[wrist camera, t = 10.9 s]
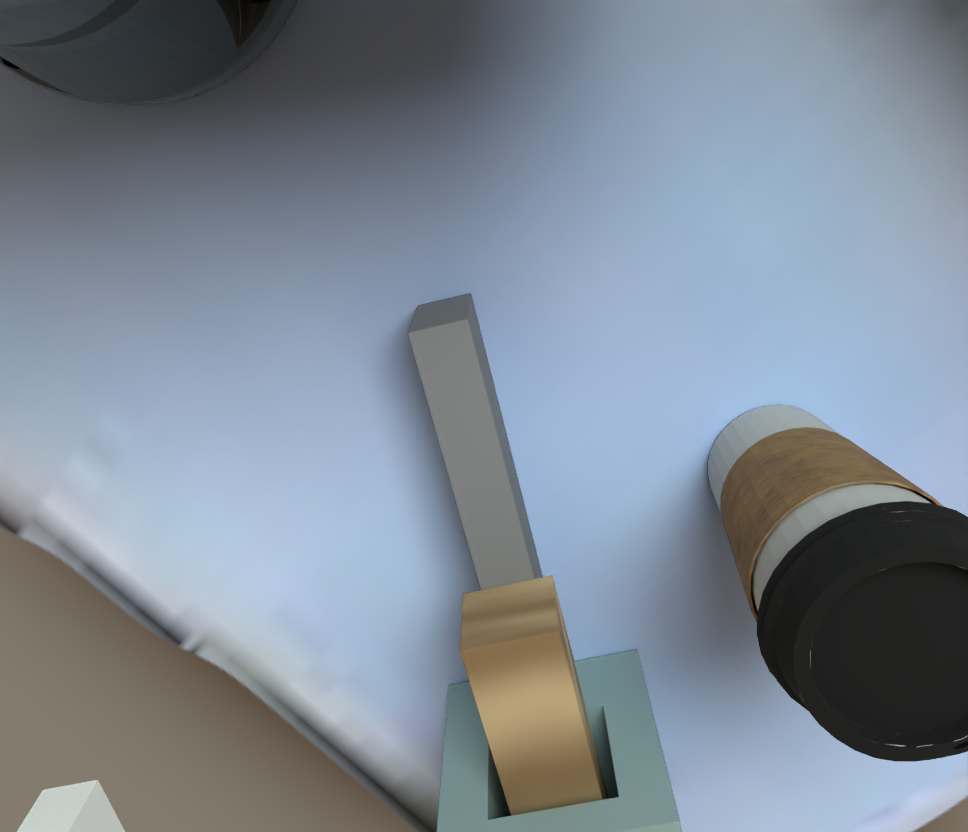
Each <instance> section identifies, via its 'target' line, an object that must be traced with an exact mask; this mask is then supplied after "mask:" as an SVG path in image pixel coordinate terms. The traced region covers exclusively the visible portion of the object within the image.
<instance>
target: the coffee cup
mask: <svg viewBox="0 0 968 832" xmlns="http://www.w3.org/2000/svg"><path fill="white" fill-rule="evenodd" d="M708 477H709V481H710V486H711V489H712V492H713V495H714V497H715V500H716V503H717V505H718V508H719V510H720V513H721V516H722V520H723V524H724V527H725V530H726V533H727V537H728V540H729V543H730V546H731V549H732V552H733V555H734V558H735V561H736V564H737V567H738V571H739V574H740V577H741V580H742V583H743V586H744V589H745V592H746V595H747V598H748V602H749V605H750V608H751V611H752V613H753V615H754V617H755V619H756V622H757V637H758V641H759V646H760V651H761V654H762V656H763V658H764V660H765V663H766V665H767V667H768V669H769V671H770V672H771V673H772V675H773V676H774V677H775V678H776V679H777V681H778V683H779V684H780V685H781V686H782V687H783V689H784V690H785V691H786V692H787V693H788V695H789V696H790V697H791V698H792V699H794V700H795V701H796V702H798V703H799V704H800V705H801V706H803V707H804V708H805V709H807V710H808V711H809V712H810V713H811V714H812V716H813V717H814V718H815V719H816V721H817V722H818V723H819V724H820V725H821V726H822V727H823V728H824V729H825V730H827V731H828V732H829V733H830V734H831V735H832V736H833V737H835V738H836V739H837V740H839V741H840V742H842V743H844V744H845V745H847V746H849V747H850V748H852V749H854V750H856V751H858V752H861V753H864V754H866V755H869V756H871V757H874V758H879V759H885V760H891V761H921V760H930V759H936V758H942V757H947V756H951V755H956V754H960V753H964V752H967V751H968V517H967V516H965V515H963V514H961V513H960V512H958V511H956V510H953V509H949V508H946V507H944V506H942V505H941V504H940V503H939V502H938V501H937V500H936V499H935V498H933V497H932V496H930V495H929V494H927V493H926V492H924V491H923V490H922V489H920V488H919V487H917V486H916V485H914V484H913V483H911V482H910V481H908V480H907V479H905V478H904V477H903V476H901V475H900V474H898V473H897V472H895V471H894V470H892V469H891V468H889V467H888V466H886V465H885V464H883V463H882V462H881V461H879V460H878V459H876V458H875V457H873V456H872V455H870V454H869V453H867V452H866V451H864V450H863V449H861V448H860V447H859V446H857V445H856V444H854V443H853V442H851V441H850V440H848V439H846V438H845V437H843V436H841V435H840V434H839V433H837V432H836V431H835V430H833V429H832V428H831V427H829V426H828V425H827V424H825V423H824V422H823V421H821V420H820V419H819V418H817V417H816V416H814V415H812V414H811V413H809V412H807V411H805V410H803V409H800V408H797V407H794V406H789V405H768V406H763V407H759V408H755V409H752V410H750V411H748V412H746V413H744V414H742V415H740V416H739V417H737V418H736V419H734V420H733V421H732V422H730V423H729V424H728V425H727V426H726V427H725V428H724V429H723V430H722V432H721V433H720V435H719V436H718V438H717V439H716V440H715V442H714V445H713V447H712V449H711V451H710V456H709V460H708Z"/></svg>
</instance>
